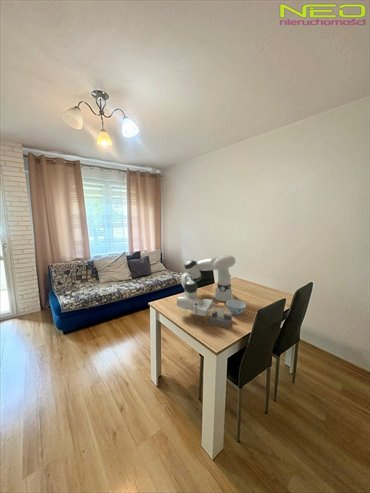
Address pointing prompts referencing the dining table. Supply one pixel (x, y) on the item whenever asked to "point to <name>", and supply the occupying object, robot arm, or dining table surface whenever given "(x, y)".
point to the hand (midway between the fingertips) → (216, 308)
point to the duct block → (220, 320)
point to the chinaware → (236, 306)
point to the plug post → (220, 310)
